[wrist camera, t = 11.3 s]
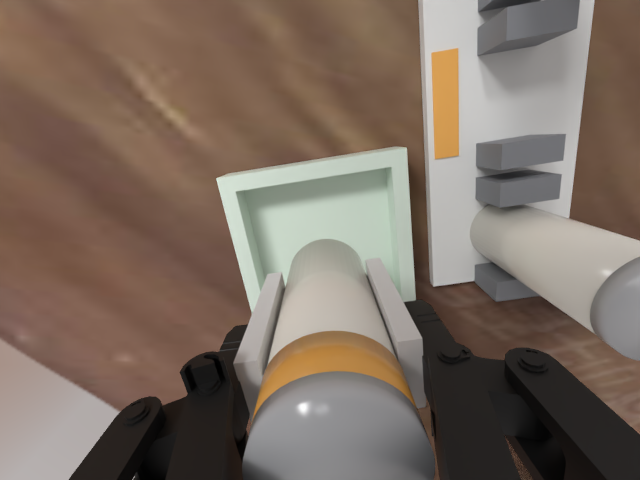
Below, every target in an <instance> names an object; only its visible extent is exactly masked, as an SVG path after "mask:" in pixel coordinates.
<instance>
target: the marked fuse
mask: <svg viewBox="0 0 640 480" xmlns="http://www.w3.org/2000/svg"><path fill="white" fill-rule="evenodd" d="M434 474H435V458H434V453H433V450H432V447H431V444H430V442H429V439H428V436H427V434H426V431H425V428H424V425H423V423H422V420H421V417H420V415H419V412H418V409H417V407H416V404H415V401H414V398H413V396H412V393H411V390H410V388H409V385H408V382H407V380H406V377H405V374H404V371H403V369H402V367H401V365H400V363H399V361H398V360H397V357H396V354H395V352H394V349H393V346H392V343H391V341H390V338H389V335H388V332H387V330H386V327H385V324H384V321H383V318H382V316H381V313H380V310H379V307H378V305H377V302H376V299H375V296H374V294H373V291H372V288H371V285H370V283H369V280H368V277H367V274H366V272H365V269H364V266H363V263H362V261H361V259H360V257H359V255H358V254H357V252H356V251H355V250H354V249H353V248H352V247H350V246H349V245H347V244H346V243H344V242H341V241H338V240H334V239H320V240H316V241H313V242H310V243H308V244H307V245H305V246H304V247H302V248H301V249H300V250H299V251H298V252H297V253H296V255H295V256H294V258H293V260H292V263H291V266H290V270H289V274H288V279H287V283H286V287H285V292H284V296H283V300H282V304H281V309H280V313H279V317H278V321H277V326H276V330H275V334H274V338H273V343H272V347H271V351H270V356H269V360H268V364H267V368H266V370H265V372H264V375H263V378H262V382H261V387H260V391H259V395H258V399H257V403H256V407H255V411H254V416H253V420H252V424H251V428H250V432H249V436H248V440H247V445H246V449H245V453H244V457H243V463H242V476H243V480H433V479H434Z"/></svg>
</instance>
